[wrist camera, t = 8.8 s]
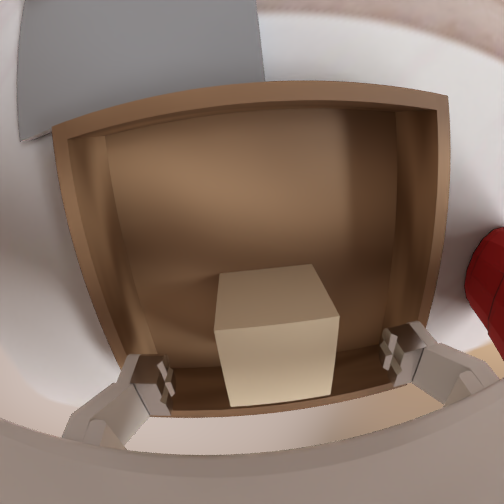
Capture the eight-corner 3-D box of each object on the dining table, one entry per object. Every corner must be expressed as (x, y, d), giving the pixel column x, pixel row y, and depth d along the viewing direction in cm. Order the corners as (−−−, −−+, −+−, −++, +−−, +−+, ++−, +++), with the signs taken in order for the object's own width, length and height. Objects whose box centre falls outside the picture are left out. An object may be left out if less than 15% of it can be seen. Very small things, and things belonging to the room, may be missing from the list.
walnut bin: (97, 125, 10) (51, 126, 7) (398, 100, 11) (447, 95, 7) (158, 368, 15) (145, 416, 12) (382, 343, 16) (406, 384, 12)
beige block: (219, 273, 13) (213, 330, 9) (311, 263, 13) (339, 316, 9) (231, 344, 14) (230, 406, 10) (310, 335, 14) (330, 394, 10)
